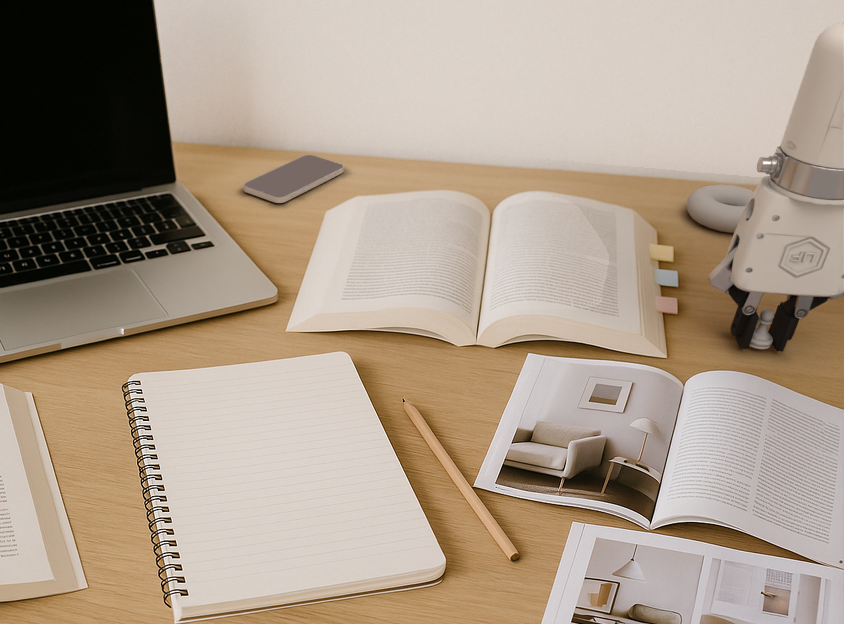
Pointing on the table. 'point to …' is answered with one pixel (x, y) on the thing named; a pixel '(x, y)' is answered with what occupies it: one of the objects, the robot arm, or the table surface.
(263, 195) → the smartphone
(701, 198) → the donut
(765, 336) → the pawn
